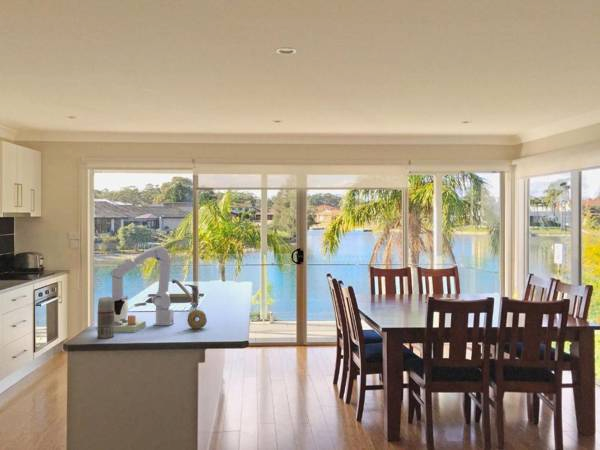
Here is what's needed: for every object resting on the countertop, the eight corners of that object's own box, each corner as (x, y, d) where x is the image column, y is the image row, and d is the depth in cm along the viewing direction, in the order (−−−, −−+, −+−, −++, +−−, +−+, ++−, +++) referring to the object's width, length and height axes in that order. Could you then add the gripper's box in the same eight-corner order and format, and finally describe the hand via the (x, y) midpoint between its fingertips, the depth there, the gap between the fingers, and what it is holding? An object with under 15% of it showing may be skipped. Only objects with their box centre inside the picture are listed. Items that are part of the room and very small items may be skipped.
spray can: (116, 335, 280) (116, 296, 279) (111, 338, 271) (111, 298, 271) (100, 335, 279) (99, 296, 279) (94, 338, 271) (94, 298, 271)
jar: (107, 325, 304) (107, 299, 303) (109, 322, 314) (108, 296, 313) (127, 324, 306) (127, 298, 306) (128, 321, 316) (128, 295, 316)
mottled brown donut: (186, 329, 293) (186, 310, 293) (188, 327, 297) (188, 309, 297) (205, 329, 293) (205, 310, 293) (207, 328, 296) (207, 309, 296)
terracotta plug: (136, 323, 294) (136, 315, 294) (133, 325, 290) (133, 316, 290) (129, 323, 294) (129, 315, 294) (126, 324, 290) (126, 316, 290)
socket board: (145, 326, 301) (145, 321, 301) (134, 332, 286) (134, 326, 286) (119, 326, 303) (119, 320, 303) (107, 331, 288) (107, 326, 288)
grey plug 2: (128, 326, 300) (128, 318, 300) (125, 327, 297) (125, 319, 296) (122, 326, 301) (121, 318, 301) (118, 327, 297) (118, 319, 297)
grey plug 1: (123, 329, 293) (123, 320, 293) (119, 330, 289) (119, 322, 289) (116, 329, 293) (115, 320, 293) (112, 330, 289) (112, 322, 289)
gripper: (114, 291, 283) (114, 317, 283) (132, 287, 296) (132, 312, 297) (103, 290, 285) (103, 316, 286) (121, 287, 299) (122, 312, 299)
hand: (117, 314), depth 291 cm, fingers closed
